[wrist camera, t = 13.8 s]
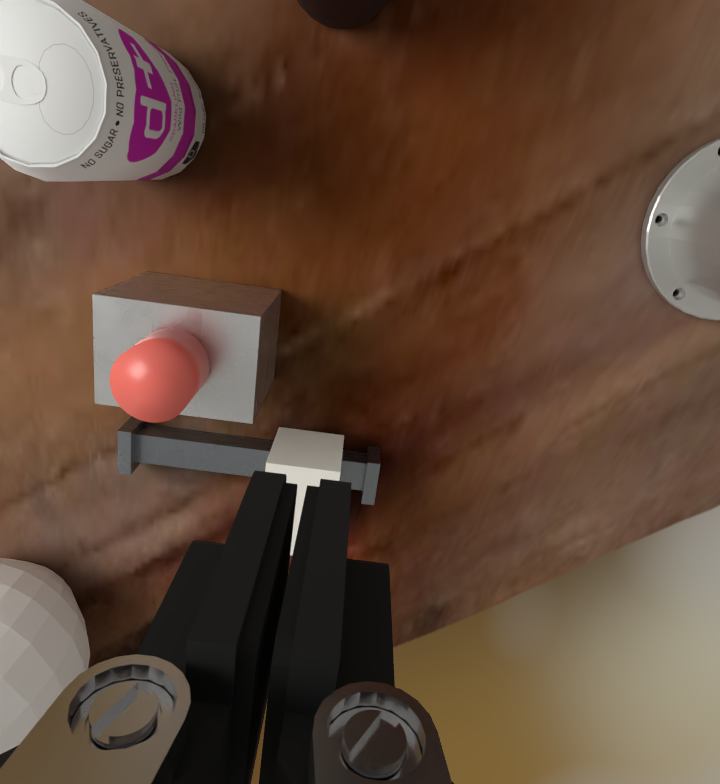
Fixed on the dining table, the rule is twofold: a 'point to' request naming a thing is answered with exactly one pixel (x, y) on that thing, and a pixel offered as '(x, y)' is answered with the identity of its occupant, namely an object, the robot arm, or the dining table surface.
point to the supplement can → (91, 97)
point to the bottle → (342, 11)
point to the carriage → (305, 462)
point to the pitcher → (35, 645)
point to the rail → (226, 454)
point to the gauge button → (159, 375)
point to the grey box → (204, 322)
